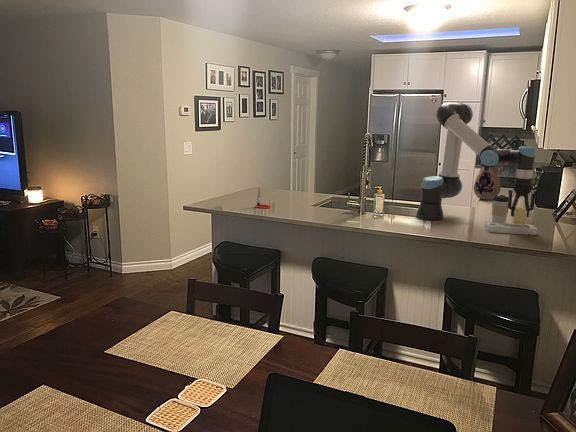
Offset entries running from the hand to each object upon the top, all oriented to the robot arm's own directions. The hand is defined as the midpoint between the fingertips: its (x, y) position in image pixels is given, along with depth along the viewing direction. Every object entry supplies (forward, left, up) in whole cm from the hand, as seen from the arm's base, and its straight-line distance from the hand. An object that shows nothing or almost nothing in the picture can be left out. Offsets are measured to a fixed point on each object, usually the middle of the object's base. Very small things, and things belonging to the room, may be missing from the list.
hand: (518, 222), depth 247 cm
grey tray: (-4, 0, -5) cm, 6 cm away
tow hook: (-141, +24, -5) cm, 143 cm away
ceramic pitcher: (+3, +99, -5) cm, 99 cm away
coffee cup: (-5, +20, -5) cm, 21 cm away
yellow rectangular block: (0, 0, 0) cm, 0 cm away
